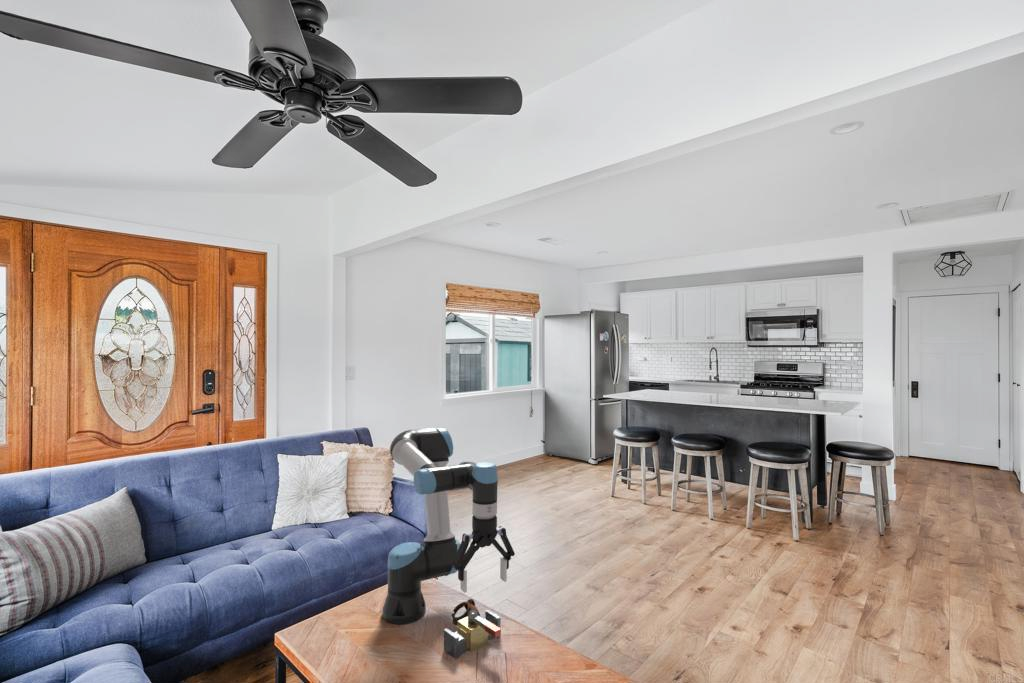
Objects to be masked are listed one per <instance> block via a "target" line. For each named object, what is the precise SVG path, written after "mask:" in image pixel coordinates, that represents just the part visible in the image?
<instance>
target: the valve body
mask: <svg viewBox="0 0 1024 683" xmlns="http://www.w3.org/2000/svg"><path fill="white" fill-rule="evenodd" d="M484 614H485V618H483V619H484V620H486V621H487V622H489V623H490V622H491V623H492V624H494V625H496V626H497V627H499V628H500V629H501V618H502V617H501V616H500V615H498V614H496V613H494V612H492V611H491V610H489V609H486V610H485V612H484ZM496 638H497V639H499V638H501V635H500V636H498V637H496ZM496 638H495V637H494V636H492V635H491V634H489V633H488V632H486V631H485V629H483V628H482V627H480V626H479V625H477V624H476V623H469V622H468V617H465V618H463V619H461V620H459V621H458V625H457V631H455V632H453V631H452V630H450V629H449V628H444V629H443V651H444V652H445V653H447V654H448V655H449V656H450V657H452V658H453V659H454V660H455V661H456V660H458V659H459V658H460V656H461V655H464V654H466V653H467V652H469V653H471V654H472V653H473V652H475V651H477V650H479V649H481V648H483V647H485V646H486V645H488V644H489V641H491V640H493V639H496Z"/></svg>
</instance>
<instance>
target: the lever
mask: <svg viewBox="0 0 1024 683" xmlns="http://www.w3.org/2000/svg"><path fill="white" fill-rule="evenodd" d="M484 619H485V618H483V617H481V615H480V616H478V612H477V611H475V610H472V611H469V612H468V622H469V623H476V624H477V625H479V626H480V627H482V628H483V629H485V631H486V632H488V633H489V634H491V635H492V636H494V637H495V638H494V639H496V637H498V636H500V637H501V635H502V628H501V627H500V628H499V627H497V626H496V625H494V624H492V623H491V622H490V623H489V622H487V621H486V620H484Z"/></svg>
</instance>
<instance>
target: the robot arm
mask: <svg viewBox="0 0 1024 683" xmlns="http://www.w3.org/2000/svg"><path fill="white" fill-rule="evenodd" d="M453 453H454V443H453V438H452V436H451V434H450V432H449V431H448V430H447V429H446V428H444V427H432V428H431V427H430V428H421V429H420V428H418V429H408V430H404V431H403V432H400V433H399V434H398V435H396V436H395V437H394V438H393V440H392V442H391V443H390V447H389V454H390V456H391V458H392V460H393V461H394V462H395V463H397V464H398V465H401V466H403V467H404V468H405V469H406V470H407V471H408V472H409V474H411V476H412V477H413V487H414V489H415V492H416V493H417V494H418V495H424V503H425V504H424V505H425V515H426V516H425V517H426V529H427V530H426V532H427V533H426V534H427V535H426V536H425V537H424V539H423V545H421V543H419V542H416V541H412V542H411V541H408V542H402V543H400V544H397V545H395V546H394V547H392V548H391V550H390V551H389V552H388V553H389V554H388V559H387V594H386V597H385V599H384V604H383V607H382V618H383V620H384V621H386V622H388V623H390V624H395V625H407V624H411V623H414V622H417V621H418V620H421V619H422V618H423V617H424V616H425V614H426V611H427V610H426V608H427V604H426V601H425V598H424V595H423V592H422V582H423V581H429V580H432V579H436V578H440V577H441V578H442V577H447V576H449V575H453V574H456V573H457V578H458V580H459V581H460V590H461V591H462V592H463V593H468V592H467V591H468V589H467V588H468V586H467V585H468V579H467V578H468V574H467V573H468V570H467V569H466V567H467V566H468V564H469V563H470V561H471V560H472V558H473V557H474V555H475V554H476V552H477V551H479V549H480V548H481V549H482V548H485V547H490V546H491V545H492V546H493V547H494V548H495V549H496V550H497V551H498V552H499V553H500V554H501V555H502V556H501V557H500V564H499V565H500V567H499V570H500V574H499V575H500V576H499V578H500V580H502V581H503V582H507V581H508V580H507V578H508V574H507V573H508V572H507V571H508V569H509V568H510V561H511V560H512V557H514V556H515V555H516V554H515V551H514V548H513V547H512V544H511V542H510V540H509V538H508V536H507V529H506V528H505V527H503V526H502V525H499V526H498V516H497V514H498V482H499V480H498V479H499V476H498V466H497V464H495V463H493V462H487V461H484V462H482V461H480V462H477V463H475V462H474V461H470V460H464V461H461V462H460V463H459V464H456V465H455V464H454V465H448V464H449V462H450V460H449V458H451V457H452V456H453V455H454V454H453ZM463 489H470V490H471V491H472V510H471V511H472V517H471V522H472V523H471V526H472V528H471V529H472V532H471V533H470V534H466V533H463V534H462V536H461V542H460V541H459V539H456V535H455V534H454V533H453V532H452V531H451V522H450V509H449V497H448V492H450V491H456V490H457V491H458V490H463ZM498 535H499V537H500V539H501V542H502V543H503V546H504V548H505V549H506V550H505V549H504V548H503V547H502V546H501V544H500V543H499V542H498V541H497V540H496V537H497V536H498Z"/></svg>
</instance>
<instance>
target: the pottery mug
mask: <svg viewBox="0 0 1024 683" xmlns="http://www.w3.org/2000/svg"><path fill="white" fill-rule="evenodd" d="M462 608H465V612H463V614H462V615H459V616H458V617H457V616H456V614H457V613H458V611H459V610H461V609H462ZM472 610H475V611H477V612H478V616H480V617H481V614H480V612H479V609H478V608H477V607H476V603H475V600H474V599H472V598H469V599H467V600H466V601H462V602H460V603H458V604H457V605H456V606H455V608H454V609H453V610H452V613H451V618H452V624H453V625H455V626H458V621H459V620H461V619H463V618H465V617H468V612H469V611H472Z"/></svg>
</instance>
